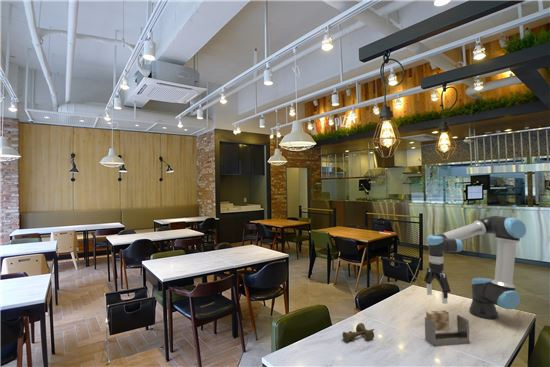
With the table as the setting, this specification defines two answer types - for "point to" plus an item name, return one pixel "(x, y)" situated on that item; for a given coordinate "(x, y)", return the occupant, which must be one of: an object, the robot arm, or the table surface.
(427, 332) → the grey u-shaped piece
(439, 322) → the door panel
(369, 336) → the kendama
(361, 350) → the table surface
